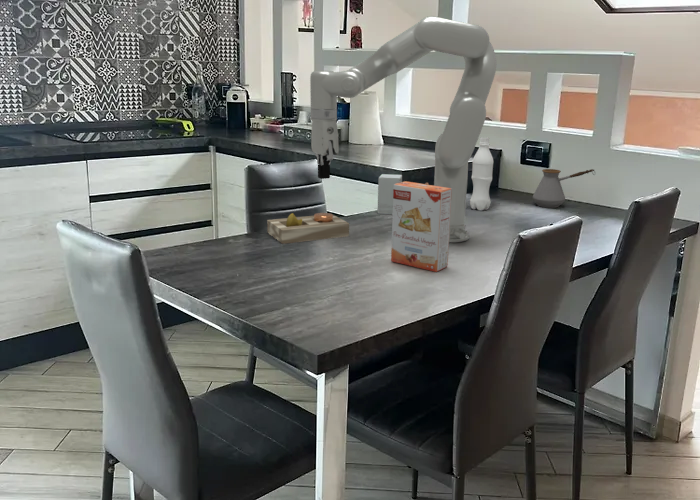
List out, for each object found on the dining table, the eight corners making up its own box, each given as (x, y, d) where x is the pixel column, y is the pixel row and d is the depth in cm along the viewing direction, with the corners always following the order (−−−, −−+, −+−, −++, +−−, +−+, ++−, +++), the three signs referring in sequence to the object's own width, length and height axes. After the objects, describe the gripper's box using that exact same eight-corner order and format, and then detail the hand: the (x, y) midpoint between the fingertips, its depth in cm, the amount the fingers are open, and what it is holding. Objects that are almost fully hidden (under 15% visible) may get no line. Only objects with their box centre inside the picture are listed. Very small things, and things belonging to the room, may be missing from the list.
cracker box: (389, 262, 178) (392, 183, 172) (402, 257, 182) (405, 180, 177) (436, 273, 170) (440, 190, 164) (448, 267, 174) (452, 187, 168)
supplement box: (398, 215, 229) (399, 178, 226) (376, 213, 231) (377, 177, 227) (401, 210, 236) (402, 174, 233) (380, 209, 238) (381, 173, 234)
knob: (287, 232, 198) (286, 215, 197) (285, 227, 203) (285, 211, 202) (303, 231, 199) (303, 215, 198) (301, 227, 204) (301, 211, 202)
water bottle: (489, 207, 243) (494, 136, 236) (491, 211, 236) (496, 139, 229) (468, 206, 244) (473, 136, 237) (470, 210, 237) (474, 138, 230)
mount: (349, 236, 202) (349, 223, 201) (282, 243, 193) (282, 230, 192) (331, 226, 213) (331, 213, 212) (267, 233, 205) (267, 220, 204)
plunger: (335, 230, 204) (335, 216, 203) (318, 232, 202) (318, 217, 200) (328, 226, 209) (328, 212, 208) (311, 228, 206) (311, 213, 205)
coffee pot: (526, 205, 247) (530, 164, 242) (539, 200, 255) (543, 160, 251) (584, 214, 234) (589, 171, 229) (596, 209, 242) (601, 167, 238)
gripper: (346, 116, 191) (346, 181, 196) (325, 112, 204) (325, 173, 209) (321, 117, 188) (322, 183, 193) (301, 113, 201) (302, 174, 206)
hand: (323, 177), depth 201 cm, fingers closed
